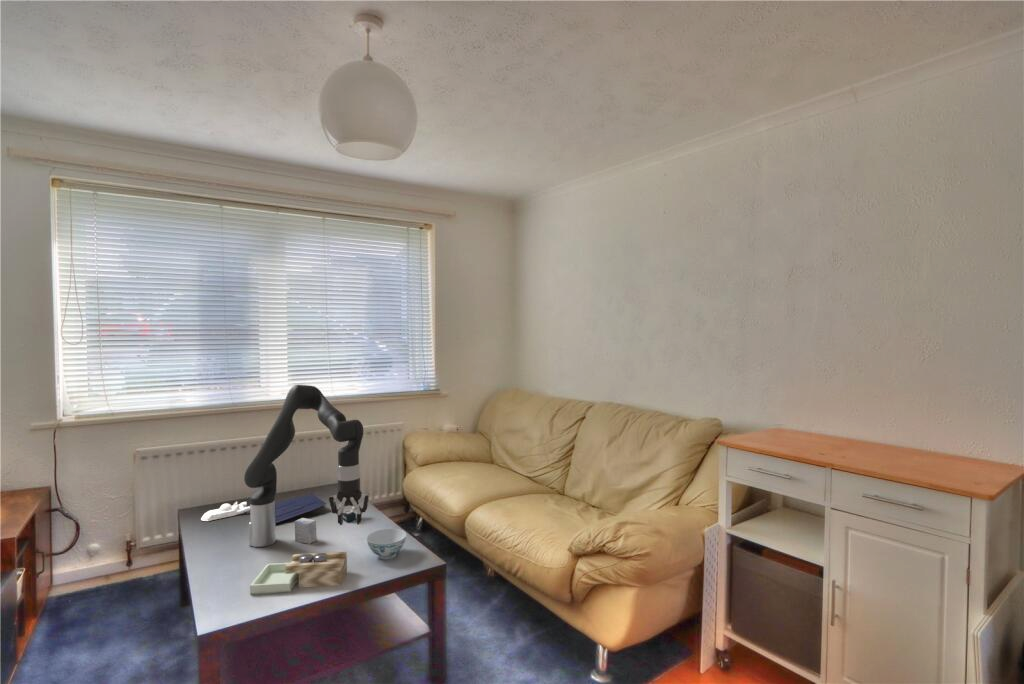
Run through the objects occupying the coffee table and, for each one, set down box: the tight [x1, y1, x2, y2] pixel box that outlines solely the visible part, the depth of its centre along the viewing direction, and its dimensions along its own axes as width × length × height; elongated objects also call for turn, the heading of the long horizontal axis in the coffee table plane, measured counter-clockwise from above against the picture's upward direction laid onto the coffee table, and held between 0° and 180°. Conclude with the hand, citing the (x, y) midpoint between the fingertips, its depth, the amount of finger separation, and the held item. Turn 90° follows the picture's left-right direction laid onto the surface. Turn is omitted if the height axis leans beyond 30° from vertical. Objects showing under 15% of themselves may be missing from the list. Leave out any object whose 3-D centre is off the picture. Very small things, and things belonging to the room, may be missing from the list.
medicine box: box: [294, 517, 318, 545], centre depth 220 cm, size 8×4×9 cm, turn 65°
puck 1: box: [299, 553, 312, 563], centre depth 186 cm, size 4×4×2 cm
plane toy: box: [200, 501, 250, 522], centre depth 251 cm, size 10×20×6 cm, turn 127°
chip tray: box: [249, 562, 299, 595], centre depth 186 cm, size 13×16×3 cm
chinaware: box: [366, 528, 407, 560], centre depth 206 cm, size 15×15×8 cm
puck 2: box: [314, 552, 327, 562], centre depth 187 cm, size 4×4×2 cm
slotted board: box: [285, 551, 348, 588], centre depth 187 cm, size 18×10×8 cm, turn 96°
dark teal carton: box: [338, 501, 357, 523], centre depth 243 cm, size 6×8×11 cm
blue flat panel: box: [248, 493, 327, 524], centre depth 253 cm, size 24×30×4 cm
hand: (350, 523), depth 187 cm, fingers open, 5 cm apart
